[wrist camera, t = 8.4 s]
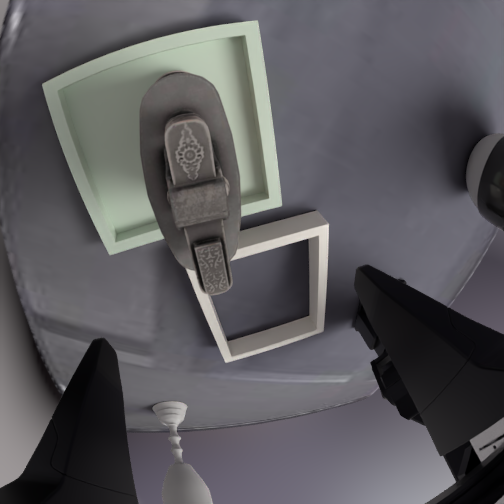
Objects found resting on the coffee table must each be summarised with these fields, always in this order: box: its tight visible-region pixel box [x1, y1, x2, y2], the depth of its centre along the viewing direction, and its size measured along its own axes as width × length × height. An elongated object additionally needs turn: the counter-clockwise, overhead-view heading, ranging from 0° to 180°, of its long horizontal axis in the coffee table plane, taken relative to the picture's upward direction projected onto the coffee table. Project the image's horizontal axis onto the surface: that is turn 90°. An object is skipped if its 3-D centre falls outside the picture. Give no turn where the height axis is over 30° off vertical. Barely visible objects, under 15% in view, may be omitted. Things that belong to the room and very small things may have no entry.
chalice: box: [153, 401, 213, 504], centre depth 29 cm, size 7×7×18 cm
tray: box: [42, 21, 282, 255], centre depth 15 cm, size 12×12×2 cm
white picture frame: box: [186, 211, 329, 363], centre depth 25 cm, size 11×14×2 cm
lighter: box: [139, 70, 241, 295], centre depth 12 cm, size 8×3×10 cm, turn 5°
